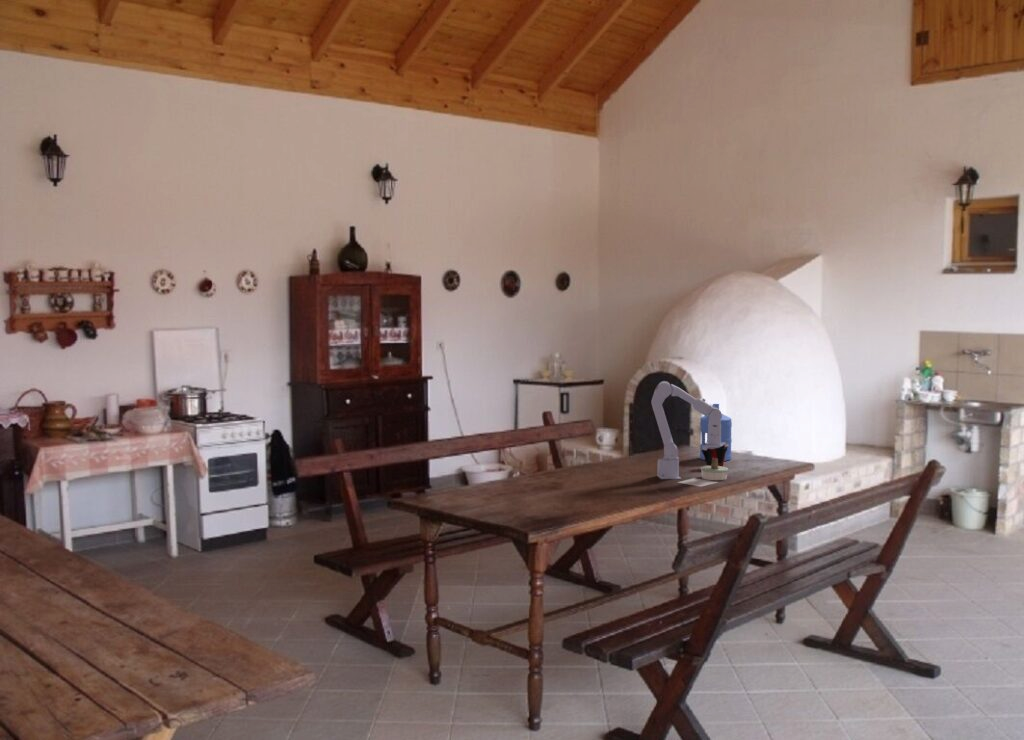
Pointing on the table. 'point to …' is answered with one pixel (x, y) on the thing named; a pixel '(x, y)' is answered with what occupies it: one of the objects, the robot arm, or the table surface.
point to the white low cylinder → (714, 475)
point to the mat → (697, 482)
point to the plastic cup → (716, 455)
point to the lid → (714, 467)
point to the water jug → (725, 433)
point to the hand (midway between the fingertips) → (714, 464)
